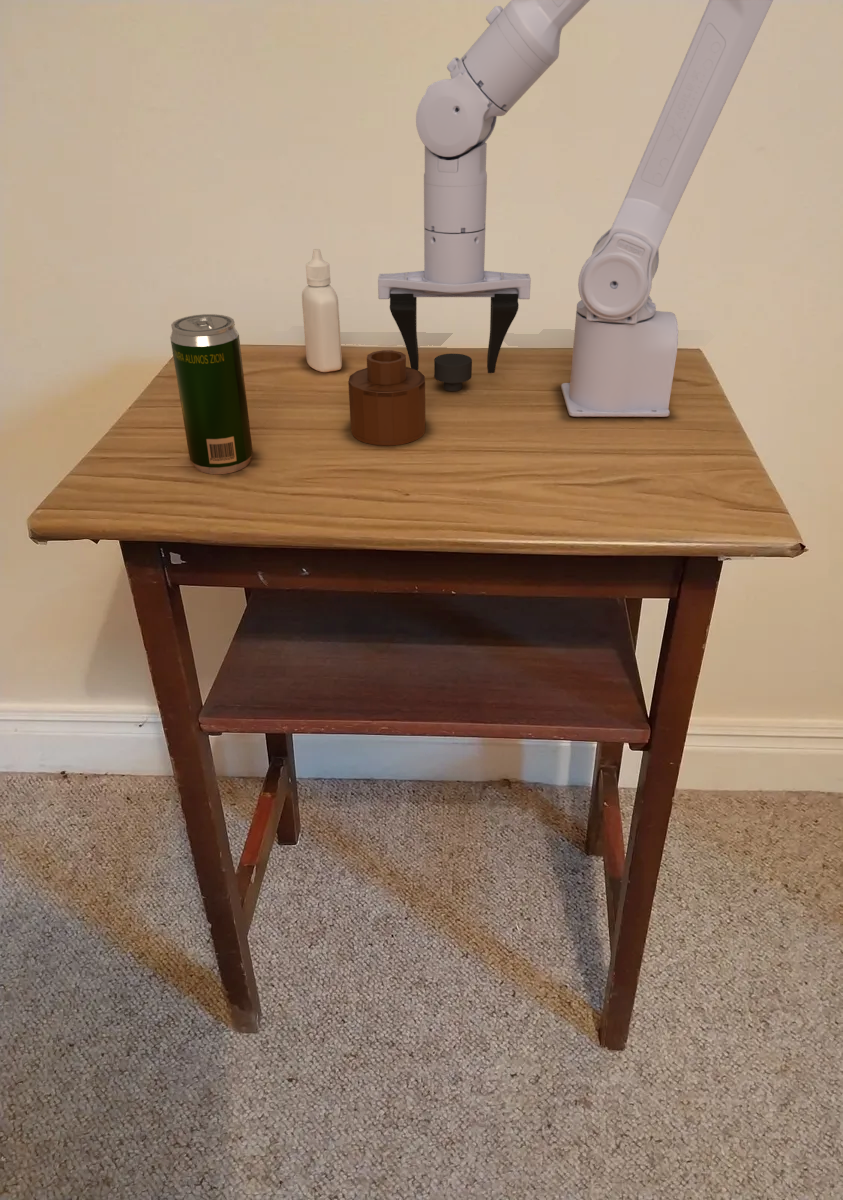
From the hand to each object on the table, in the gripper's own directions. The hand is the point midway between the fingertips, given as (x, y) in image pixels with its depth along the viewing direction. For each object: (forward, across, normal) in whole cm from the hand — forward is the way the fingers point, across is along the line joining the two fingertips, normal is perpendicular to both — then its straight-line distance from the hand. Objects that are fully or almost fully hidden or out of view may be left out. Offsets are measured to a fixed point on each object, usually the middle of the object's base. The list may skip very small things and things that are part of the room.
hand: (452, 369), depth 92 cm
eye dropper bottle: (+2, +14, -7) cm, 16 cm away
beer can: (+2, +20, +18) cm, 27 cm away
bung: (+2, 0, 0) cm, 2 cm away
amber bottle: (+2, +6, +11) cm, 13 cm away
